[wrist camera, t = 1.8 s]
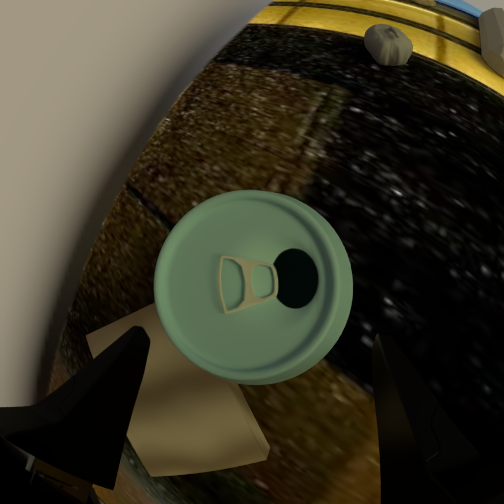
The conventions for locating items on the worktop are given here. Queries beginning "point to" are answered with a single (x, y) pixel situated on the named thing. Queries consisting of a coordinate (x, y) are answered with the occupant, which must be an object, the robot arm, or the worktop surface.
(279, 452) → the worktop surface
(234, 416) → the beige wooden slab
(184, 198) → the worktop surface
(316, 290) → the can
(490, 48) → the crystal
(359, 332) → the worktop surface
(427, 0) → the hand bell
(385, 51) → the grey pumpkin
